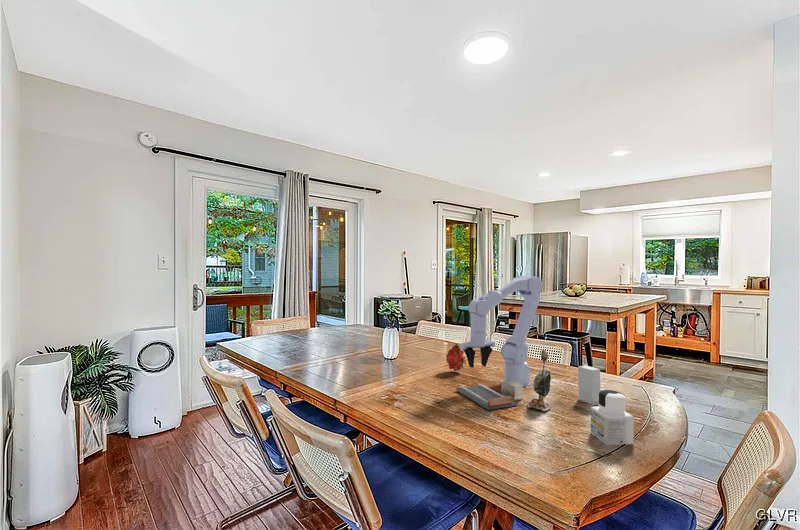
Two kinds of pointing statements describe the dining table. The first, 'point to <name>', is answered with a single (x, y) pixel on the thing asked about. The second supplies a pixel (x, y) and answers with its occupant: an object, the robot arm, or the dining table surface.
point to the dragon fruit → (455, 358)
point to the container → (612, 419)
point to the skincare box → (589, 384)
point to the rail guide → (486, 397)
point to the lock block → (512, 389)
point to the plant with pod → (541, 386)
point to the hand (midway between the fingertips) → (477, 366)
